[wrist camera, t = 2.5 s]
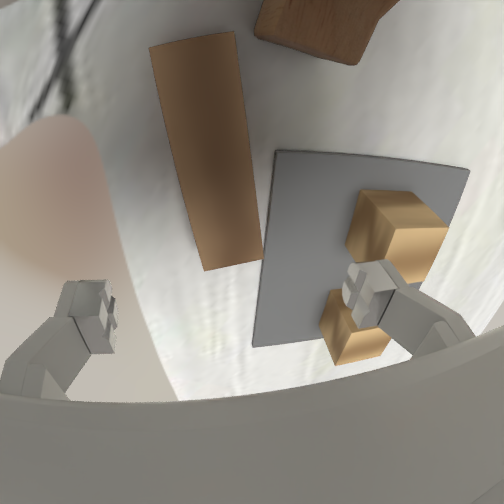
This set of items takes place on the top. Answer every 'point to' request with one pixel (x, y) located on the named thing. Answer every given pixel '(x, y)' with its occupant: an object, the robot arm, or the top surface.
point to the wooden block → (322, 26)
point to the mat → (328, 230)
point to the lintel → (210, 145)
